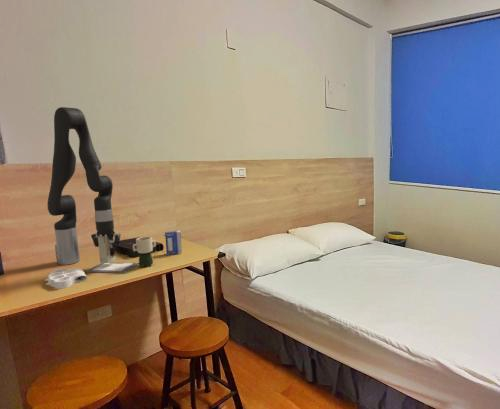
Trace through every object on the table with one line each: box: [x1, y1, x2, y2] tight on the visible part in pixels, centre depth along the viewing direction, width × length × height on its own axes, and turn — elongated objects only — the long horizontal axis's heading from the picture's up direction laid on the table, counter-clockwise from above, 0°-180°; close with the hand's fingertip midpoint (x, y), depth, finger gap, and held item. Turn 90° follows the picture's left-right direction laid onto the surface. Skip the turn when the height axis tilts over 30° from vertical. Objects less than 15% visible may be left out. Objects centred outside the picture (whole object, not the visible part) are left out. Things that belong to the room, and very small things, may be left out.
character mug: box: [133, 236, 157, 267], centre depth 151 cm, size 11×7×13 cm, turn 130°
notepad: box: [85, 261, 139, 274], centre depth 150 cm, size 19×13×1 cm
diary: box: [115, 236, 165, 259], centre depth 178 cm, size 19×25×5 cm
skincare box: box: [98, 236, 117, 264], centre depth 151 cm, size 6×4×12 cm
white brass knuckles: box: [44, 267, 88, 290], centre depth 135 cm, size 3×18×15 cm
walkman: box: [164, 230, 183, 256], centre depth 168 cm, size 8×3×12 cm, turn 103°
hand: (107, 255), depth 151 cm, fingers closed on skincare box, 4 cm apart
